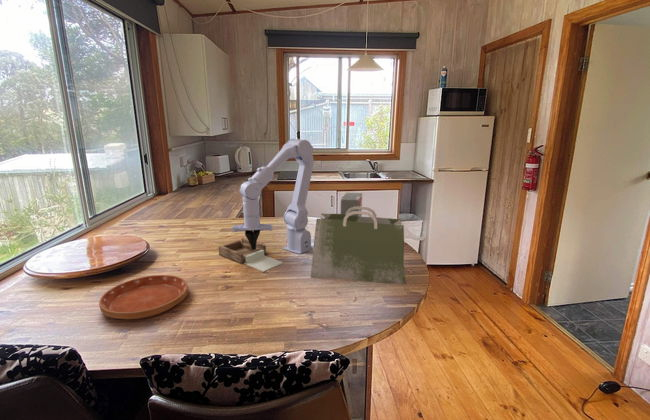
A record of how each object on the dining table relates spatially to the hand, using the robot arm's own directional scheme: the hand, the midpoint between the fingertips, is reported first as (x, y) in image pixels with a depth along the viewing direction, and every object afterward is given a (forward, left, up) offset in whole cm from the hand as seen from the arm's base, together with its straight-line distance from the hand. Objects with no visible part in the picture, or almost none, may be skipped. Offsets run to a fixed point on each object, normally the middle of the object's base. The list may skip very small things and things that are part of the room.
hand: (253, 248), depth 129 cm
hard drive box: (-17, -40, -4) cm, 44 cm away
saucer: (0, +40, -5) cm, 40 cm away
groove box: (+7, 0, -4) cm, 8 cm away
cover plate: (-6, 0, -5) cm, 7 cm away
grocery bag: (-37, -15, -4) cm, 40 cm away
